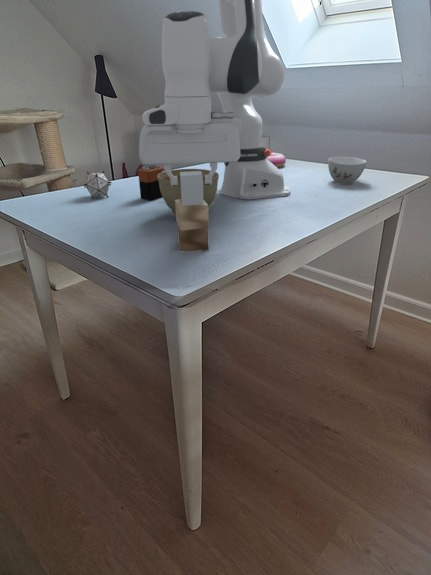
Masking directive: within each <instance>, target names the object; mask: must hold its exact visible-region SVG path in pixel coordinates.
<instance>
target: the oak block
mask: <svg viewBox="0 0 431 575" xmlns="http://www.w3.org/2000/svg"><path fill="white" fill-rule="evenodd" d="M203 203H204V205H191V206H182V199H179V200H175V207H176V217H175V219H176V223H177V227H178V226H179V228H180V230H181V231H183V230H193V229H203V228H208V229H209V228H210V227H209V226H210V225H209V224H210V223H209V208H208V204H207V203H206V202H205V201H204V200H203Z"/></svg>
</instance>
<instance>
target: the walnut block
mask: <svg viewBox="0 0 431 575" xmlns="http://www.w3.org/2000/svg"><path fill="white" fill-rule="evenodd" d="M177 234H178V237H177V238H178V252H198V251H199V252H200V251H201V252H202V251H209V228H203V229H193V230H183V231H181V230H180V228H179V226H178V225H177Z"/></svg>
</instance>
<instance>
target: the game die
mask: <svg viewBox="0 0 431 575" xmlns="http://www.w3.org/2000/svg"><path fill="white" fill-rule="evenodd" d="M104 173H105V170H102V172H93V173H90V172H88V171H86V174H87V177H86V182H85V183H83V186H84V187H83V188H84V189H85V188H86V189H87V191H88V193H89V194H90V196H91V197H90V199H91V200H93V198H95V197H96V198H97V197H103V196H104V197H106V198H109V195H108V191H109V187H110V186H111V185H112V181H109V179H108V178H107V177H106V175H105V174H104Z"/></svg>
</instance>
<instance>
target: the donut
mask: <svg viewBox="0 0 431 575" xmlns="http://www.w3.org/2000/svg"><path fill="white" fill-rule="evenodd" d="M266 159H267V160H269V161H270V162H271V163H272V164H273V165H275V166H276V167H277V168H278V169H279V168H282V167H283V166H285V164H286V160H287V159H286V156H285V155H284V154H282V153H278V152H271V155H270V156H269V157H267V158H266Z"/></svg>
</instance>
